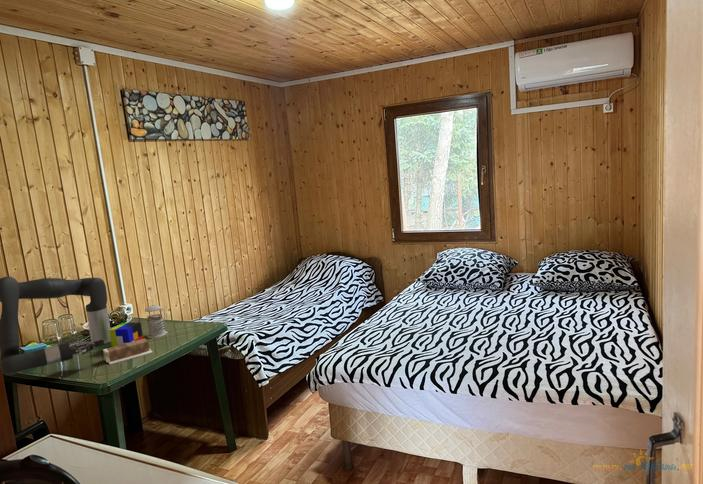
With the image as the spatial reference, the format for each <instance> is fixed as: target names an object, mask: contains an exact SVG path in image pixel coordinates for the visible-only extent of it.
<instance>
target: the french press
mask: <svg viewBox="0 0 703 484" xmlns="http://www.w3.org/2000/svg"><path fill="white" fill-rule="evenodd" d="M147 289H148V290H149V292H150V294H152V291H151V290H153V287H151V286H150V287H147ZM152 298H153V297H152V295H150V299H151V300H153V299H152ZM156 311H158V312H160V313H158V314H157V313H156V314H155V313H154V312H156ZM144 312H146V313H152V312H153V314H151V315H149V316H147V317H146V324H147V330H148V334H147V336H146V337H147V338H149V339H153V338H160V337H163V336H165V335H167V334H168V331H166V329H165V322H166V321H167V319H168V314H167V311H166V309H163V307H162V306H161V305H154V304H153V302H151V305H149V306H148V307H146V308H145V309H144ZM161 312H163V316H162V314H161ZM166 333H167V334H166Z"/></svg>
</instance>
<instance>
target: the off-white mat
mask: <svg viewBox="0 0 703 484" xmlns="http://www.w3.org/2000/svg"><path fill="white" fill-rule="evenodd" d="M149 350H150V351H147V352H143V353H140V354H136V355H132V356H129V357H125V358H122V359H118V360H115V361H111V362H107V363H108V365H110V366H111V365H114V364H118V363H122V362H126V361H128V360H132V359H135V358H139V357H142V356H143V357H144V356H147V355H150V354H153V351H152V349H151V348H150V347H149Z"/></svg>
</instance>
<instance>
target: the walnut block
mask: <svg viewBox="0 0 703 484" xmlns="http://www.w3.org/2000/svg"><path fill="white" fill-rule="evenodd" d="M149 348H150V345H149V341H148V340H147V338H143V339H141V340H137V341H133V342H130V343H126V344H122V345H118V346H114V347H112V346H111V347H108V348H104V349H102V352H103V359H104V361H105V362H106V363H108V362H111V361H115V360H118V359H122V358H125V357H129V356H132V355H136V354H140V353H143V352H147V351H150V350H151V349H150V350H149Z"/></svg>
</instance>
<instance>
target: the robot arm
mask: <svg viewBox="0 0 703 484" xmlns="http://www.w3.org/2000/svg"><path fill="white" fill-rule="evenodd" d="M67 296H83V297H89V299H90V300H89V303H87V304H86V305H85V313H86V318H87V322H88V327H89V334H90V340H84V341H83V340H80V341H78V342H77V343H74V344H71V342H69V341H66V342H62V343H58V344H54V345H51V346H48V347H45V348H41V349H36V350H33V351H30V352H23V353H21V349H20V347H21V346H20V343H21V342H20V334H19V303H20V300H40V299H41V300H43V299H45V300H47V299H48V300H49V299H59V298H64V297H67ZM0 303H1V313H0V364H1V366H2V370H1V372H3V374H5V375H7V376H8V375H9V376H10V375H11V376H12V375H15V374H17V373H19V372H22V371H26V370H29V369H37V368H40V367H41V368H42V367H45V366H48V365H55V364H59V363H63V362H67V361H70V360H73V358H74V356H73V355H80V354H81V355H85V354H87V353H89V352H91V351H93V350H95V348H98V347H101V346H104V345H105V344H108V343H111V340H110V334H109V329H111V322H110V318H109V312H108V308H107V307H108V306H107V304H108V294H107V285H106V282H105V281H104V279H103V278H101V277H84V278H77V279H67V278H60V277H59V278H57V277H51V278H50V277H49V278H47V277H45V278H44V277H43V278H39V279H33V280H27V281H21V282H18V280H17V279H16V278H14V277H12V276H2V277H0Z"/></svg>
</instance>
